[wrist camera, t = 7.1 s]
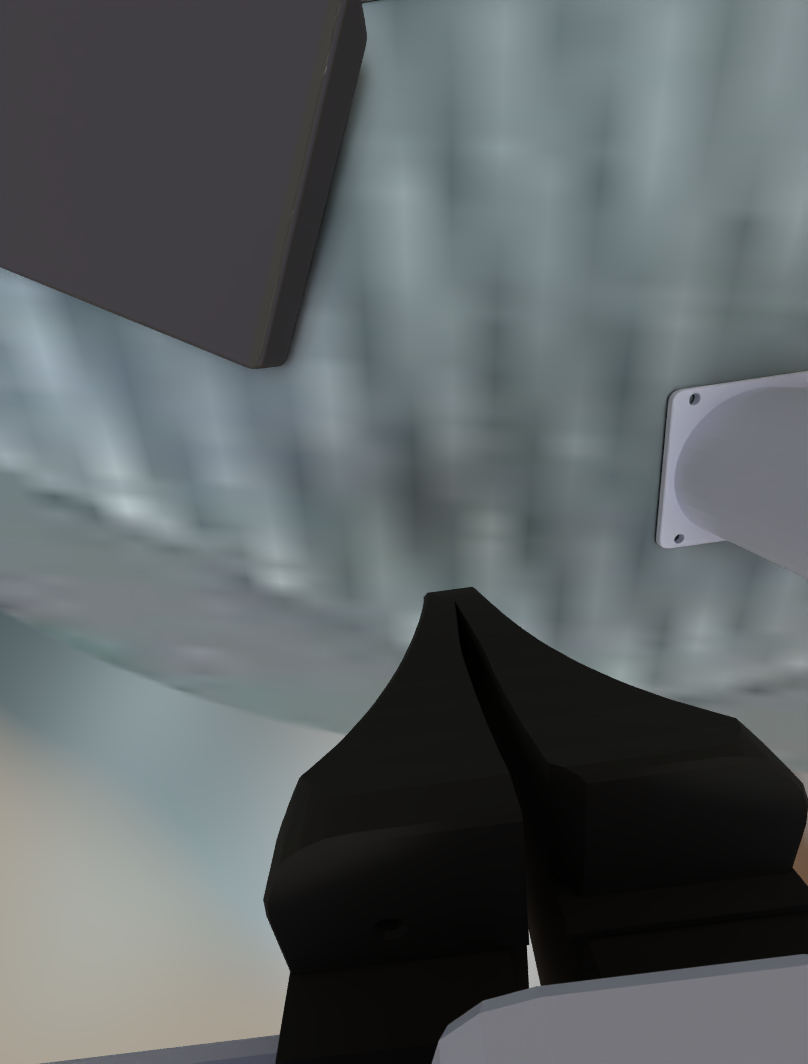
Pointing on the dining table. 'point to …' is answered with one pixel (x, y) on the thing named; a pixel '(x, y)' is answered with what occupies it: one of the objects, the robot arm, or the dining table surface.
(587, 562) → the dining table surface
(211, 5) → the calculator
